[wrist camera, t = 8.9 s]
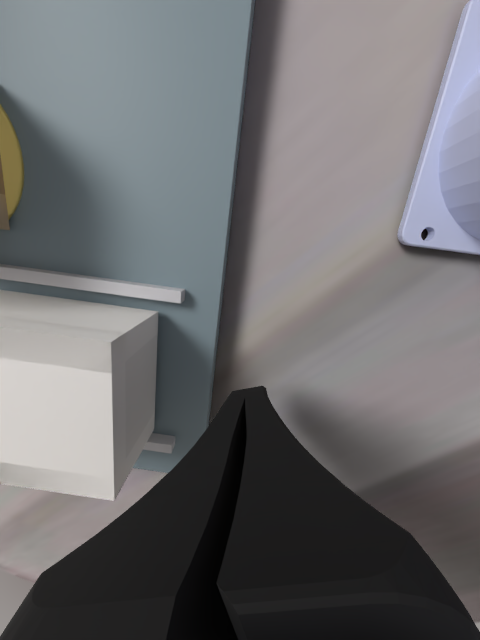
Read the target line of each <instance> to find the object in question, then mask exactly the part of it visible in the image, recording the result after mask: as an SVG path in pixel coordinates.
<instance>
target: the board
mask: <svg viewBox="0 0 480 640" xmlns="http://www.w3.org/2000/svg"><path fill="white" fill-rule="evenodd" d="M254 8H255V0H0V155H1V163H2V171H3V179H4V187H5V195H6V203H7V211H8V219H9V227H10V230H3V229H0V290H6V291H13V292H21V293H28V294H35V295H43V296H50V297H57V298H64V299H72V300H79V301H86V302H93V303H101V304H108V305H115V306H122V307H130V308H137V309H144V310H151V311H158V337H157V365H156V393H155V420H154V430H153V432H152V434H151V435H150V437H149V439H148V441H147V443H146V444H145V446H144V448H143V450H142V452H141V454H140V455H139V457H138V459H137V461H136V463H135V464H134V466H133V468H138V469H145V470H151V471H158V472H165V473H169V472H170V471H171V470H172V469H173V468H174V467H175V466H176V465H177V464H178V463H179V461H180V460H181V459H182V458H183V457H184V456H185V455H186V454H187V453H188V452H189V450H190V449H191V448H192V447H193V446H194V445H195V443H196V442H197V441H198V440H199V438H200V437H201V436H202V434H203V433H204V432H205V430H206V429H207V428H208V426H209V417H210V408H211V399H212V390H213V381H214V372H215V363H216V353H217V344H218V335H219V326H220V317H221V308H222V299H223V290H224V281H225V272H226V263H227V254H228V245H229V235H230V226H231V217H232V208H233V199H234V190H235V181H236V172H237V163H238V154H239V145H240V136H241V126H242V117H243V108H244V99H245V90H246V81H247V72H248V63H249V54H250V45H251V36H252V27H253V18H254Z"/></svg>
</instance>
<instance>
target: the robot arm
mask: <svg viewBox="0 0 480 640" xmlns="http://www.w3.org/2000/svg"><path fill="white" fill-rule="evenodd" d="M423 229H427V231H428V236H427V237H426V239H425V240H423V239H422V238H421V233H422V231H423ZM398 239H399V241H400V242H401V243H402V244H404V245H407V246H415V247H422V248H430V249H437V250H445V251H452V252H460V253H467V254H475V255H480V0H469V2H468V3H467V4H466V5H465V7H464V9H463V11H462V14H461V18H460V21H459V24H458V28H457V31H456V35H455V38H454V42H453V45H452V48H451V52H450V55H449V59H448V62H447V66H446V69H445V72H444V76H443V79H442V83H441V86H440V89H439V93H438V96H437V100H436V103H435V107H434V110H433V113H432V117H431V120H430V124H429V127H428V131H427V134H426V137H425V141H424V144H423V148H422V151H421V155H420V158H419V161H418V165H417V168H416V172H415V175H414V179H413V182H412V185H411V189H410V192H409V196H408V199H407V203H406V206H405V209H404V213H403V216H402V220H401V223H400V226H399V230H398ZM0 640H480V632H479V630H478V628H477V627H476V625H475V623H474V622H473V620H472V618H471V616H470V614H469V613H468V611H467V610H466V608H465V606H464V605H463V603H462V602H461V600H460V599H459V597H458V596H457V595H456V593H455V592H454V590H453V589H452V587H451V586H450V585H449V583H448V582H447V580H446V579H445V577H444V576H443V575H442V573H441V572H440V571H439V569H438V568H437V567H436V565H435V564H434V563H433V561H432V560H431V559H430V557H429V556H428V555H427V554H426V552H425V551H424V550H423V549H422V547H421V546H420V545H419V544H418V542H417V541H416V540H415V539H414V537H413V536H412V535H411V534H410V533H409V532H407V531H406V530H405V529H403V528H402V527H400V526H399V525H397V524H396V523H394V522H393V521H391V520H390V519H389V518H387V517H386V516H384V515H383V514H382V513H380V512H379V511H377V510H376V509H375V508H373V507H372V506H371V505H369V504H368V503H366V502H365V501H364V500H363V499H361V498H360V497H359V496H358V495H356V494H355V493H354V492H352V491H351V490H350V489H349V488H347V487H346V486H345V485H344V484H343V483H341V482H340V481H339V480H338V479H337V478H336V477H335V476H333V475H332V474H331V473H330V472H329V471H328V470H327V469H325V468H324V467H323V466H322V465H321V464H320V463H319V462H318V461H317V460H316V459H315V458H314V457H313V456H312V455H311V454H310V453H309V452H308V451H307V450H306V449H305V448H304V447H303V446H302V445H301V444H300V443H299V441H298V440H297V439H296V438H295V437H294V436H293V434H292V433H291V432H290V431H289V429H288V428H287V427H286V425H285V424H284V423H283V421H282V420H281V418H280V417H279V415H278V414H277V412H276V411H275V409H274V408H273V406H272V404H271V402H270V400H269V398H268V395H267V391H266V388H265V387H263V386H258V387H253V388H248V389H242V390H237V391H232V393H231V394H230V395H229V397H228V398H227V400H226V401H225V403H224V404H223V406H222V408H221V409H220V411H219V412H218V414H217V415H216V416H215V418H214V419H213V421H212V422H211V424H210V425H209V427H208V428H207V429H206V430H205V432H204V433H203V434H202V436H201V437H200V438H199V440H198V441H197V442H196V443H195V445H194V446H193V447H192V448H191V449H190V450H189V452H188V453H187V454H186V455H185V456H184V457H183V458H182V459H181V460H180V461H179V463H178V464H177V465H176V466H175V467H174V468H173V469H172V470H171V471H170V472H169V473H168V474H167V475H166V476H165V477H164V478H163V479H161V480H160V481H159V482H158V483H157V484H156V485H155V486H154V487H153V488H152V489H151V490H150V491H149V492H148V493H146V494H145V495H144V496H143V497H142V498H141V499H140V500H139V501H137V502H136V503H135V504H134V505H133V506H131V507H130V508H129V509H128V510H127V511H126V512H124V513H123V514H122V515H121V516H119V517H118V518H117V519H115V520H114V521H113V522H112V523H110V524H109V525H108V526H107V527H105V528H104V529H103V530H101V531H100V532H99V533H98V534H96V535H95V536H94V537H92V538H91V539H89V540H88V541H87V542H85V543H84V544H82V545H81V546H80V547H78V548H77V549H75V550H74V551H73V552H71V553H70V554H68V555H67V556H66V557H64V558H63V559H61V560H60V561H59V562H57V563H56V564H54V565H53V566H51V567H50V568H49V569H47V570H46V571H44V572H43V573H42V574H41V575H40V576H39V578H38V579H37V581H36V582H35V584H34V586H33V587H32V589H31V590H30V592H29V593H28V595H27V596H26V598H25V599H24V601H23V602H22V604H21V606H20V607H19V609H18V610H17V612H16V613H15V615H14V616H13V618H12V619H11V621H10V622H9V624H8V625H7V627H6V628H5V630H4V632H3V633H2V635H1V636H0Z"/></svg>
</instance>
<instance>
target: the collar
mask: <svg viewBox="0 0 480 640" xmlns="http://www.w3.org/2000/svg"><path fill="white" fill-rule="evenodd" d="M0 229H3V230H10V227H9V219H8V211H7V203H6V195H5V187H4V179H3V171H2V163H1V155H0Z"/></svg>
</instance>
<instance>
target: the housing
mask: <svg viewBox="0 0 480 640" xmlns="http://www.w3.org/2000/svg"><path fill="white" fill-rule="evenodd" d="M157 337H158V311H151V310H144V309H137V308H130V307H122V306H115V305H108V304H101V303H93V302H86V301H79V300H72V299H64V298H57V297H50V296H43V295H35V294H28V293H21V292H13V291H6V290H0V484H4V485H11V486H18V487H24V488H31V489H38V490H45V491H51V492H58V493H65V494H72V495H78V496H85V497H92V498H99V499H105V500H112V501H115V499H116V497H117V495H118V493H119V492H120V490H121V488H122V486H123V484H124V482H125V481H126V479H127V477H128V475H129V473H130V472H131V470H132V468H133V466H134V464H135V463H136V461H137V459H138V457H139V455H140V454H141V452H142V450H143V448H144V446H145V444H146V443H147V441H148V439H149V437H150V435H151V434H152V432H153V430H154V420H155V393H156V365H157Z"/></svg>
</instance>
